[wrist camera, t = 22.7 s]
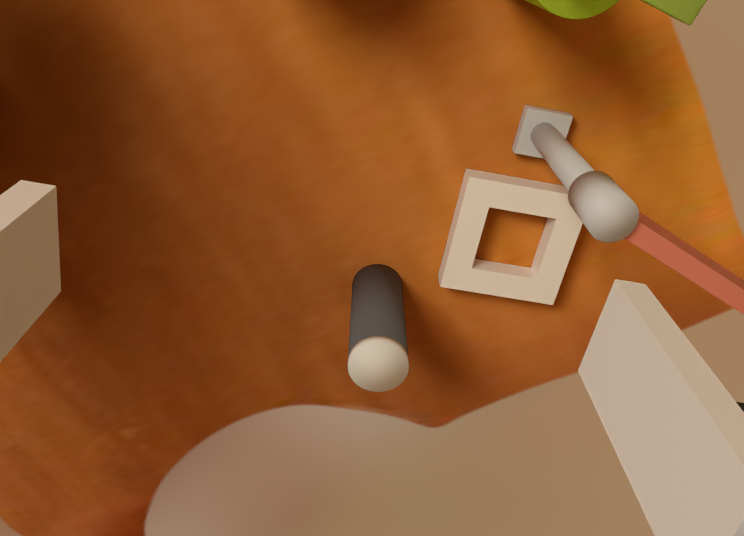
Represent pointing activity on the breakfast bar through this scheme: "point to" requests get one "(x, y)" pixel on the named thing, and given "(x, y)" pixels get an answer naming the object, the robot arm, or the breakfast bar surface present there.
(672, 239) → the clip
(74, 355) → the breakfast bar surface
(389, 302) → the dark grey cylinder
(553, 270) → the socket
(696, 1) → the soap dispenser
